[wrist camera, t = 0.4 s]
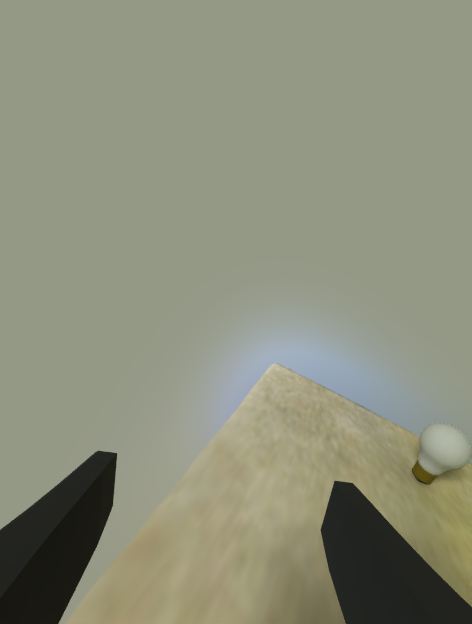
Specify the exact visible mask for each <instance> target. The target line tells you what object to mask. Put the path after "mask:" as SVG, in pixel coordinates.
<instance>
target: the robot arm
mask: <svg viewBox="0 0 472 624" xmlns="http://www.w3.org/2000/svg"><path fill="white" fill-rule="evenodd" d="M116 460H117V453H111V452H103V451H97V452H96V453H94V454H93V455H92V456H91V457H89V458H88V459H87V460H86V461H85V462H84V463H82V464H81V465H80V466H79V467H78V468H77V469H76V470H74V471H73V472H72V473H71V474H70V475H68V476H67V477H66V478H65V479H64V480H63V481H61V482H60V483H59V484H58V485H57V486H55V487H54V488H53V489H52V490H50V491H49V492H48V493H47V494H46V495H44V496H43V497H42V498H41V499H40V500H38V501H37V502H36V503H34V505H32V506H31V507H29V508H28V509H27V510H26V511H24V512H23V513H22V514H20V515H19V516H18V517H16V518H15V519H14V520H12V521H11V522H10V523H9V524H7V525H6V526H5V527H3V528H2V529H1V530H0V624H58V623H59V621H60V619H61V617H62V615H63V613H64V611H65V609H66V607H67V605H68V603H69V601H70V599H71V597H72V595H73V593H74V591H75V589H76V587H77V585H78V583H79V581H80V579H81V577H82V575H83V573H84V571H85V569H86V567H87V565H88V563H89V561H90V559H91V557H92V555H93V553H94V551H95V549H96V547H97V545H98V542H99V540H100V537H101V535H102V532H103V530H104V527H105V525H106V522H107V519H108V517H109V514H110V512H111V509H112V506H113V496H114V485H115V484H114V483H115V471H116ZM321 534H322V539H323V544H324V549H325V553H326V558H327V562H328V567H329V571H330V574H331V577H332V581H333V584H334V587H335V590H336V594H337V597H338V600H339V603H340V606H341V609H342V613H343V616H344V619H345V622H346V624H472V607H471V606H470V605H469V604H468V603H467V602H466V601H465V600H464V599H463V598H461V597H460V596H459V595H458V594H457V593H456V592H455V591H454V590H453V589H452V588H451V587H450V586H449V585H448V584H447V583H446V582H445V581H444V580H443V579H442V578H441V577H440V576H439V575H438V574H437V573H436V572H435V571H434V570H433V569H432V568H431V567H430V566H429V565H428V564H427V563H426V562H425V561H424V559H423V558H422V557H421V556H420V555H419V554H418V553H417V552H416V551H415V550H414V549H413V548H412V547H411V546H410V545H409V544H408V543H407V542H406V541H405V539H404V538H403V537H402V536H401V535H400V534H399V533H398V532H397V531H396V530H395V529H394V528H393V526H392V525H391V524H390V523H389V522H388V521H387V520H386V519H385V518H384V517H383V516H382V514H381V513H380V512H379V511H378V510H377V509H376V508H375V507H374V506H373V505H372V503H371V502H370V501H369V500H368V499H367V498H366V497H365V496H364V495H363V494H362V493H361V491H360V490H359V489H358V488H357V487H356V486H355V485H354V484H353V483H348V482H340V481H334V485H333V489H332V492H331V496H330V499H329V503H328V506H327V510H326V513H325V517H324V520H323V524H322V527H321Z"/></svg>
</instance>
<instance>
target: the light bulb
mask: <svg viewBox="0 0 472 624" xmlns="http://www.w3.org/2000/svg"><path fill="white" fill-rule="evenodd" d="M471 457H472V447H471V444H470V442H469V440H468V438H467V437H466V436H465V435H464V433H463V432H461V431H460V430H459V429H457V428H456V427H454V426H452V425H449V424H445V423H434V424H431V425H428V426H427V427H425V428H424V429H423V431H422V432H421V435H420V453H419V456H418V460H417V462H416V464H415V465H414V467H413V468H412V471H413V473H414V475H415V476H416V478H417V480H419V481H421V482H424V483H427V484H430V483H431V482H432V481H433V480H434V479H435V478H436V477H437V476H438V475H440V474H442V473H444V472H445V471H448V470H454V469H460V468H462V467H464V466H466V465H467V464H468V463H469V461H470V459H471Z"/></svg>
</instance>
